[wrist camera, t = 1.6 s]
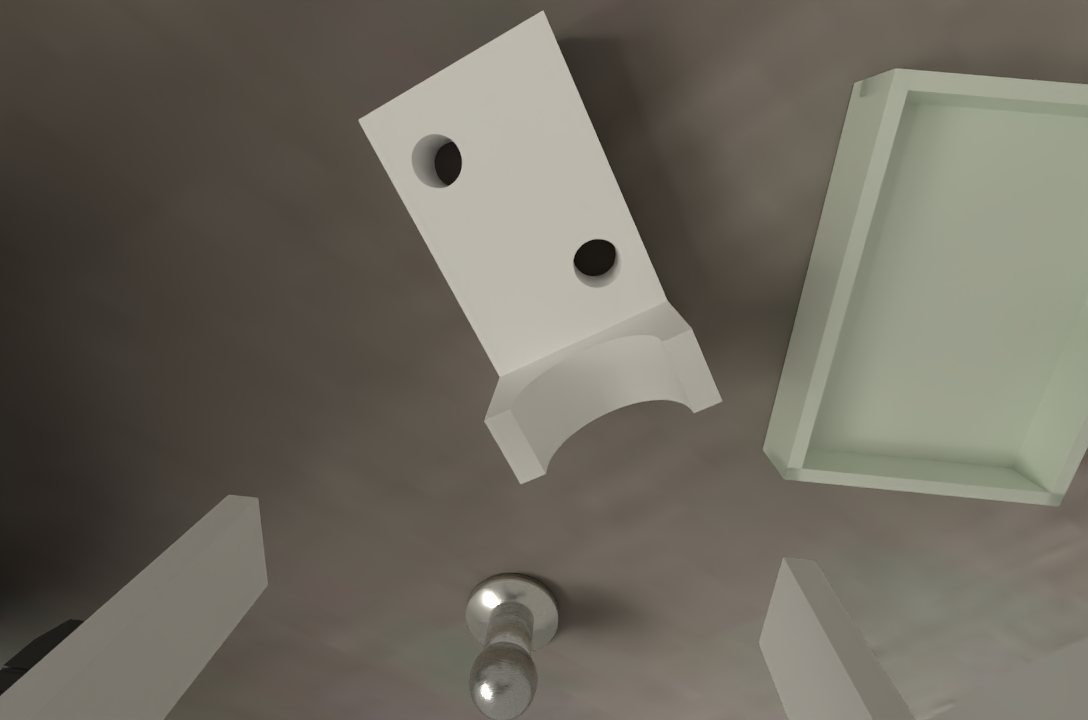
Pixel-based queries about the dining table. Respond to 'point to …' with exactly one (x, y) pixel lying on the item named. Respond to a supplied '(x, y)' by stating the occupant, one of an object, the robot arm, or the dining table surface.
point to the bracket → (536, 245)
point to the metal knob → (508, 641)
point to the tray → (946, 295)
